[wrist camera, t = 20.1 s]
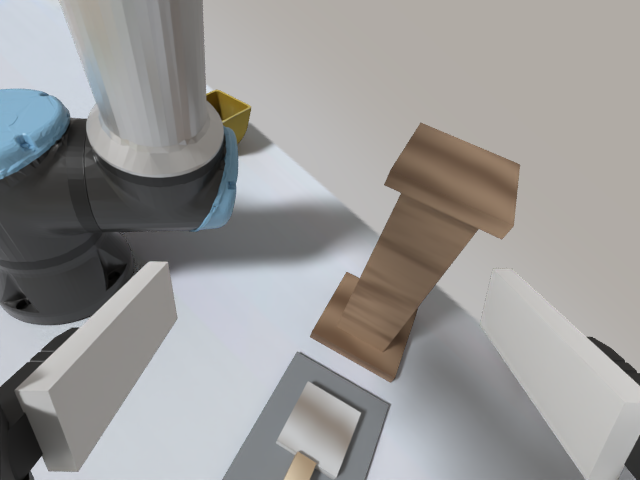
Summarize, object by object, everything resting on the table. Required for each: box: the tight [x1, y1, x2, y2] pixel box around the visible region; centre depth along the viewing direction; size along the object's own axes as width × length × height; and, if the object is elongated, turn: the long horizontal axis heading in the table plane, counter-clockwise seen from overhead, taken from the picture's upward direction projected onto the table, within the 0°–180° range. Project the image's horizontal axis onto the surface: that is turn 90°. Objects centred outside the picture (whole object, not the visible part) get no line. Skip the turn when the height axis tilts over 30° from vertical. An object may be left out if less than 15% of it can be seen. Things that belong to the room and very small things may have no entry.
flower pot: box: [206, 90, 251, 144], centre depth 68 cm, size 9×9×9 cm
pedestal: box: [310, 123, 520, 383], centre depth 40 cm, size 12×12×28 cm
